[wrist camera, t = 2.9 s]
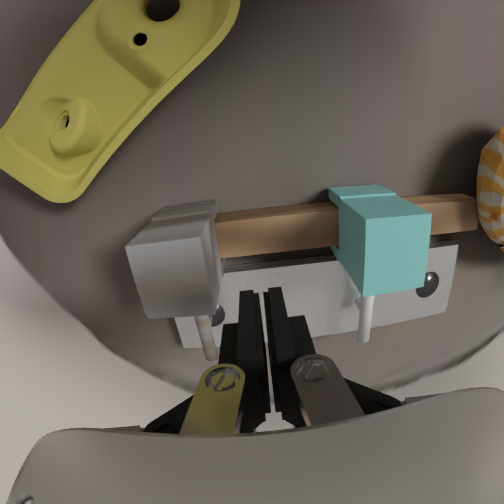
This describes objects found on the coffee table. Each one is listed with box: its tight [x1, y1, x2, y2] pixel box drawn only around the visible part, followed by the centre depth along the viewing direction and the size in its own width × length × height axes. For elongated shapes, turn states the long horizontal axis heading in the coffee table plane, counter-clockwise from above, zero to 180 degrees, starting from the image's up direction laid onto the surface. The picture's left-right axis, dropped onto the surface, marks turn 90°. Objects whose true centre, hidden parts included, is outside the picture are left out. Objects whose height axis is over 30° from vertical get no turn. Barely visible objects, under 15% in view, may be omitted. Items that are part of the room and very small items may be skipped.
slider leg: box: [328, 185, 432, 343], centre depth 19 cm, size 11×4×8 cm, turn 7°
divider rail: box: [125, 194, 479, 361], centre depth 19 cm, size 11×25×8 cm, turn 97°
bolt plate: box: [175, 240, 458, 348], centre depth 24 cm, size 7×25×1 cm, turn 97°
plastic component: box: [0, 0, 240, 203], centre depth 15 cm, size 20×7×10 cm
